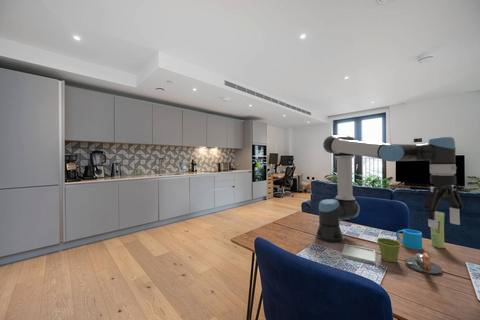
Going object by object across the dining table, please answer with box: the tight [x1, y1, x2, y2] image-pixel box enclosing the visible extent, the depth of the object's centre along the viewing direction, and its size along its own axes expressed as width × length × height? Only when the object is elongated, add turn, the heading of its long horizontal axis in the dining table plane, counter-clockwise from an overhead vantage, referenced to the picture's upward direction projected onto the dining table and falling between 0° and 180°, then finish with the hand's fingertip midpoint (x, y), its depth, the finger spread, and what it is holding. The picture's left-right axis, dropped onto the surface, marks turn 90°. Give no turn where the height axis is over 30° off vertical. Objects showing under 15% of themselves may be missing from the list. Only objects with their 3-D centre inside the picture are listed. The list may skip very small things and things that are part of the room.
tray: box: [341, 243, 376, 265], centre depth 99 cm, size 14×14×1 cm
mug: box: [395, 228, 423, 250], centre depth 109 cm, size 12×8×8 cm
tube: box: [430, 210, 445, 249], centre depth 107 cm, size 6×5×20 cm
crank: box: [415, 252, 431, 271], centre depth 84 cm, size 12×4×7 cm, turn 145°
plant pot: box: [376, 237, 402, 263], centre depth 94 cm, size 9×9×9 cm
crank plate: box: [404, 257, 443, 276], centre depth 87 cm, size 12×12×1 cm
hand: (444, 225), depth 80 cm, fingers open, 13 cm apart
